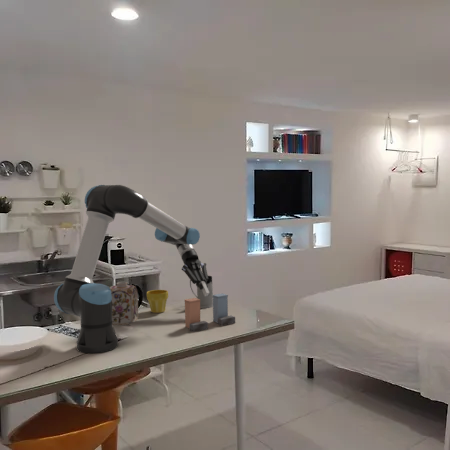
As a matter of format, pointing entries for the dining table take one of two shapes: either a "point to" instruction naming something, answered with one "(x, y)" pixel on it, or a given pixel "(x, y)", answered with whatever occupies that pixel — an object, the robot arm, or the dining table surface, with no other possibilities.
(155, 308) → the plant pot
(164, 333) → the dining table surface
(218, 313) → the light blue tall block
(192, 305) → the salmon pink lidded box
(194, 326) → the dark grey block pair
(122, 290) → the decorative jar
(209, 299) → the grey metal pitcher
